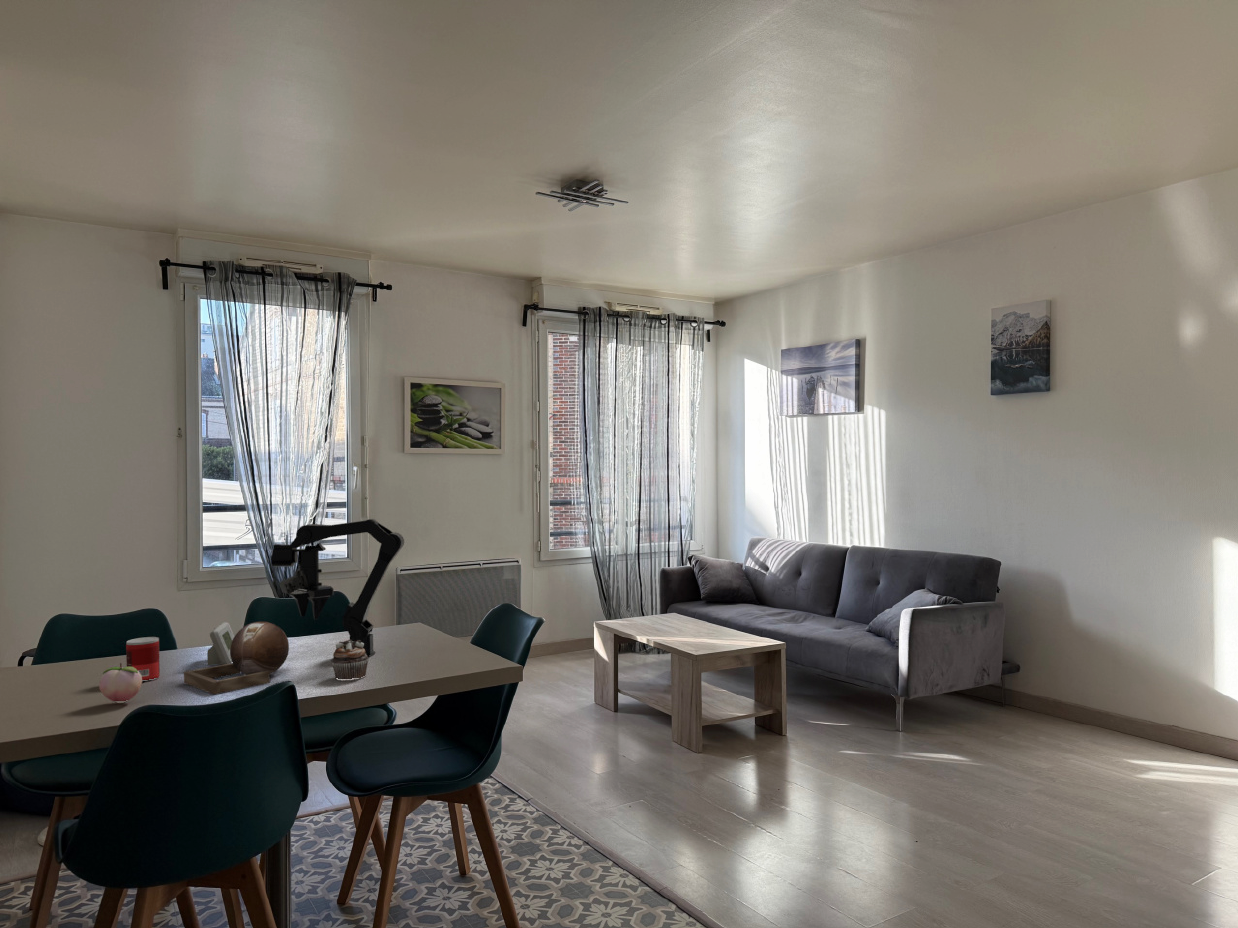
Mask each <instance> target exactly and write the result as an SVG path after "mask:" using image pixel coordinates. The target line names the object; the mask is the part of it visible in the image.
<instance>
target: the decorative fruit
mask: <svg viewBox="0 0 1238 928" xmlns="http://www.w3.org/2000/svg"><path fill="white" fill-rule="evenodd" d="M119 666H120V667H119ZM119 666H113V667H110V668H107V669H105V670H103V672H102V674H103V675H102V677H101V678H100V681H99V683H98V685H99V686H98V688H99V690H100V692H101V694H102V695H103V696H104V697H105V698H107V699H108V700H109V701H111V702H114V701H126V700H128V701H130V700H131V699H133V698H134V697H135V696H137V694H138V693H139V691H140V689H141V687H142V684H143V682H142V676H141V674H140V673H139V671H137V669H136V668H134V667H127V666H122V663H121V662H120V663H119ZM126 702H127V701H126Z"/></svg>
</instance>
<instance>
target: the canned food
mask: <svg viewBox="0 0 1238 928" xmlns="http://www.w3.org/2000/svg"><path fill="white" fill-rule="evenodd" d="M125 651H126V653H125V654H126V655H125V657H126V660H125V661H126V667H134V668H136V669H137V671H139V673H140V674H141V676H142V680H149V679H154V678H158V679H159V677H160V676H161V675H160V670H161V669H160V665H161V664H160V637H156V636H147V637H138V638H137V637H136V638H133V639H129V640H127V641H126V644H125Z"/></svg>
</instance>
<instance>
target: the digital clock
mask: <svg viewBox="0 0 1238 928" xmlns="http://www.w3.org/2000/svg"><path fill="white" fill-rule="evenodd" d="M209 636H210V639H211V642H212V645H211V647H210V648H208V649H207V653H206V654H207V655H206V656H207V665H208V666H210V665H211V666H218V665H224V664H229V663H233V662H232V660H231V656H230V647H231V643H232V640H233V638H234V637H235V635H234V632H233V630H232V628H231V626H230V623H229V622H226V621H224V622H222V623H219V624H218V626H216V627H214V629H213V630H212V631H211V632H210V633H209Z"/></svg>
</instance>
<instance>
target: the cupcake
mask: <svg viewBox="0 0 1238 928" xmlns="http://www.w3.org/2000/svg"><path fill="white" fill-rule="evenodd" d="M363 646H364V643H362V642H361V641H360V640H356V641H352V640H350V639H347V640H343V641H339V642H337V643H336V644H335V648H336V649H335V650H334V652H333V654H332V656H333V658H332V659H331V664H332V668H333V673H334V677H335V678H334V679H336V678H338V679H352V678H361V677H363V676H365V675H366V676H367V670H368V663H369V658H370V657H368V656H367V654H366V653H365V649H364V648H363ZM366 676H365V677H366Z"/></svg>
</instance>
